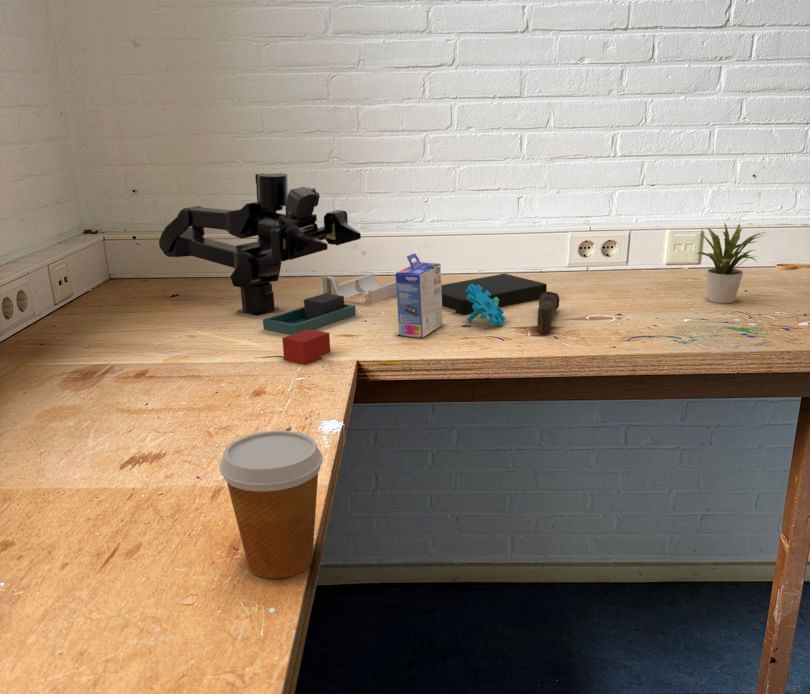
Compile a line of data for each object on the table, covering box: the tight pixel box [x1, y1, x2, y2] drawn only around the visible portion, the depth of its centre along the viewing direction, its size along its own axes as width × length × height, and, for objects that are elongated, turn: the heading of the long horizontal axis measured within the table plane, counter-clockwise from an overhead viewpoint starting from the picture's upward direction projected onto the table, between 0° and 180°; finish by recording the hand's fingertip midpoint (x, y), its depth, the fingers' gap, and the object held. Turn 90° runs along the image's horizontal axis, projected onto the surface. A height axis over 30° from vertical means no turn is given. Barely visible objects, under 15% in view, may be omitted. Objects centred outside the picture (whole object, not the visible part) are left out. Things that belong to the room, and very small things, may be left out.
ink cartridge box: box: [395, 252, 444, 339], centre depth 150 cm, size 10×6×14 cm, turn 155°
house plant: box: [695, 221, 766, 304], centre depth 164 cm, size 14×14×16 cm
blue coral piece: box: [465, 284, 507, 327], centre depth 156 cm, size 11×6×10 cm
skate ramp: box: [321, 271, 397, 305], centre depth 180 cm, size 15×13×5 cm
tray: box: [262, 303, 357, 336], centre depth 158 cm, size 9×18×2 cm, turn 144°
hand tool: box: [537, 290, 560, 334], centre depth 155 cm, size 19×4×5 cm, turn 164°
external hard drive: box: [441, 273, 548, 316], centre depth 174 cm, size 14×23×3 cm, turn 124°
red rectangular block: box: [281, 329, 331, 365], centre depth 138 cm, size 5×6×4 cm
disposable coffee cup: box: [219, 430, 324, 579], centre depth 76 cm, size 10×10×12 cm
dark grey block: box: [303, 293, 345, 320], centre depth 161 cm, size 5×6×4 cm
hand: (343, 241), depth 148 cm, fingers open, 9 cm apart
